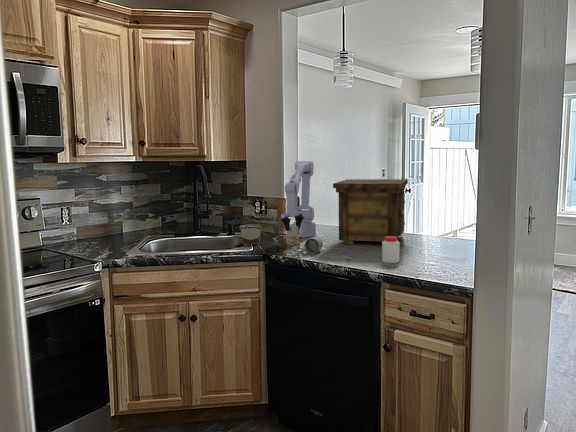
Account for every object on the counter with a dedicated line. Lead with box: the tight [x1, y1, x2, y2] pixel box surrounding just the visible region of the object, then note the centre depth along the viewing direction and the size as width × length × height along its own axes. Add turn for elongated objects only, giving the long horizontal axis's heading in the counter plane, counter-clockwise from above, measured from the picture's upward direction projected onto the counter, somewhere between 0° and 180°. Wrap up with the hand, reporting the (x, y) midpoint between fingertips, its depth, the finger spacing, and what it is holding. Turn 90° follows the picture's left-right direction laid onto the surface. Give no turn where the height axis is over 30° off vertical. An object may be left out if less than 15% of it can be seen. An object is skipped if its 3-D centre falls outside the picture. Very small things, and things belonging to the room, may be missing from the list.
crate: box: [332, 178, 409, 245], centre depth 264 cm, size 35×35×33 cm
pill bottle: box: [381, 236, 401, 264], centre depth 216 cm, size 8×8×11 cm
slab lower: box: [285, 239, 300, 246], centre depth 261 cm, size 5×5×2 cm
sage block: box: [286, 225, 299, 237], centre depth 260 cm, size 4×4×5 cm
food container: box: [238, 223, 263, 245], centre depth 266 cm, size 12×6×10 cm, turn 84°
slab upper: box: [285, 235, 300, 241], centre depth 261 cm, size 5×5×2 cm
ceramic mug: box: [300, 236, 324, 254], centre depth 240 cm, size 11×8×8 cm
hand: (292, 230), depth 260 cm, fingers open, 7 cm apart
